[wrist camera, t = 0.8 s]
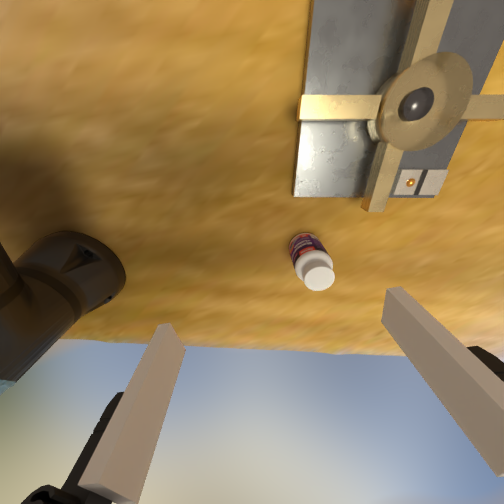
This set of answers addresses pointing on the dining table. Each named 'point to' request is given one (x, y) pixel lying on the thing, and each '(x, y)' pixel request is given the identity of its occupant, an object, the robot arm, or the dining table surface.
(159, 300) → the dining table surface
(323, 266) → the pill bottle
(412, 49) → the four spoke knob plate
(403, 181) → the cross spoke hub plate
